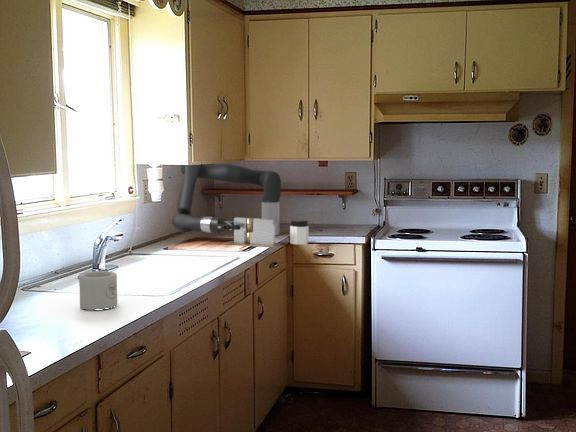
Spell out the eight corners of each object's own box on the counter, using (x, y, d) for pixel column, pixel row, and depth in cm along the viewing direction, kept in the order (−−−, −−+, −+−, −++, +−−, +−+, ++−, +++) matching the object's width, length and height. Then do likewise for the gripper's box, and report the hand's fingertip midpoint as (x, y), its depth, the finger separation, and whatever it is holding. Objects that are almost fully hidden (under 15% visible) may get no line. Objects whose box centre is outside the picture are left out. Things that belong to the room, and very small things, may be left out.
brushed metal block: (234, 243, 323) (233, 218, 322) (236, 242, 326) (236, 217, 324) (250, 244, 320) (250, 218, 319) (252, 243, 323) (252, 218, 321)
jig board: (230, 243, 332) (230, 240, 332) (281, 246, 323) (281, 243, 323) (220, 246, 320) (220, 244, 320) (272, 250, 312) (272, 247, 312)
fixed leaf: (247, 243, 324) (247, 217, 322) (275, 244, 319) (275, 219, 318) (245, 244, 321) (245, 218, 320) (273, 245, 317) (273, 219, 315)
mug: (102, 312, 198) (101, 278, 197) (72, 309, 202) (71, 275, 201) (129, 302, 211) (129, 270, 210) (100, 299, 215) (99, 267, 214)
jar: (286, 245, 326) (286, 220, 325) (298, 243, 331) (299, 218, 330) (299, 247, 319) (299, 221, 318) (312, 245, 325) (312, 220, 324)
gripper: (205, 218, 320) (237, 220, 315) (218, 215, 334) (249, 216, 328) (205, 234, 321) (237, 236, 316) (218, 230, 334) (249, 232, 329)
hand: (243, 226), depth 322 cm, fingers open, 8 cm apart
